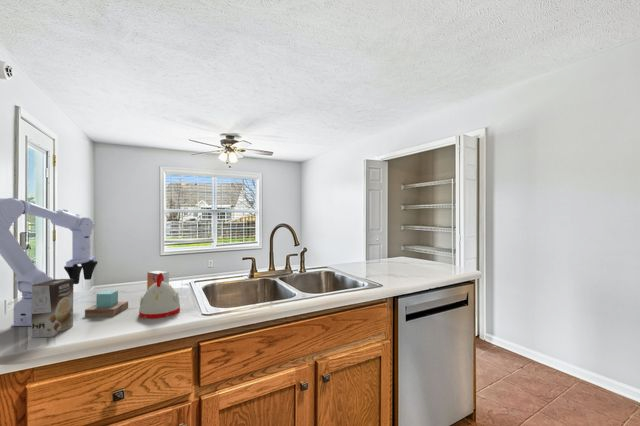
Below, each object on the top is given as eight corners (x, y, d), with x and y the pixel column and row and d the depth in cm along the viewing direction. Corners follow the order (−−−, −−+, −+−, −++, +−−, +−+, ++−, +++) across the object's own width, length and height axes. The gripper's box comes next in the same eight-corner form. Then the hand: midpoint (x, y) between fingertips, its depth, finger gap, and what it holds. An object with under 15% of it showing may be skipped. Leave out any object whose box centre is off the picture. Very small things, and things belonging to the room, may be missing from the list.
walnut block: (113, 317, 114) (113, 309, 114) (84, 318, 113) (84, 309, 113) (128, 308, 124) (128, 301, 124) (101, 309, 123) (101, 301, 123)
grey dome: (134, 320, 110) (134, 278, 110) (144, 308, 124) (145, 270, 123) (176, 317, 114) (176, 276, 114) (182, 305, 127) (182, 269, 127)
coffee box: (53, 337, 95) (53, 285, 95) (30, 338, 94) (30, 285, 94) (73, 326, 104) (74, 278, 104) (53, 326, 103) (53, 278, 103)
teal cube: (110, 307, 116) (110, 294, 116) (96, 307, 116) (96, 294, 116) (117, 303, 121) (118, 290, 121) (104, 303, 121) (104, 290, 121)
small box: (146, 294, 143) (146, 272, 143) (158, 292, 148) (158, 270, 148) (157, 297, 139) (158, 273, 139) (169, 294, 144) (169, 271, 144)
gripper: (80, 249, 116) (80, 285, 116) (103, 245, 131) (103, 277, 131) (60, 249, 115) (60, 286, 116) (85, 245, 130) (85, 277, 130)
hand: (81, 281), depth 123 cm, fingers open, 7 cm apart
